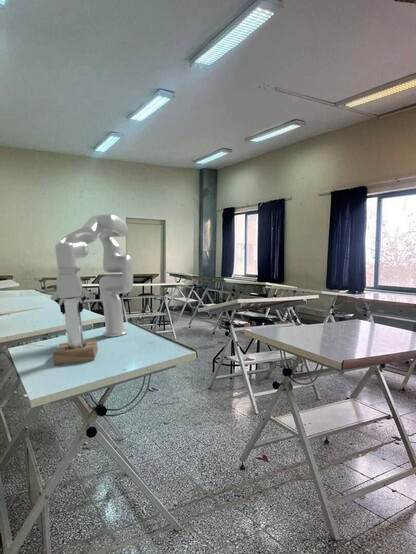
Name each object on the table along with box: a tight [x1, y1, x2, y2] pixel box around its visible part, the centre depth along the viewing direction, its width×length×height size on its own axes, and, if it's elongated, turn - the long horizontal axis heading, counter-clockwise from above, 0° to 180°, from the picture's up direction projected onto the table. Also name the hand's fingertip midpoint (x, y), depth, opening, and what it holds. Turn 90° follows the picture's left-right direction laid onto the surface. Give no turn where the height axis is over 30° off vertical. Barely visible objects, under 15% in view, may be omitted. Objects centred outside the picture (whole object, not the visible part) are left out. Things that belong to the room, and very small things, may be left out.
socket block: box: [52, 338, 99, 366], centre depth 164 cm, size 16×16×5 cm
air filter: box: [63, 297, 85, 349], centre depth 163 cm, size 6×6×25 cm
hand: (72, 312), depth 162 cm, fingers closed on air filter, 6 cm apart
